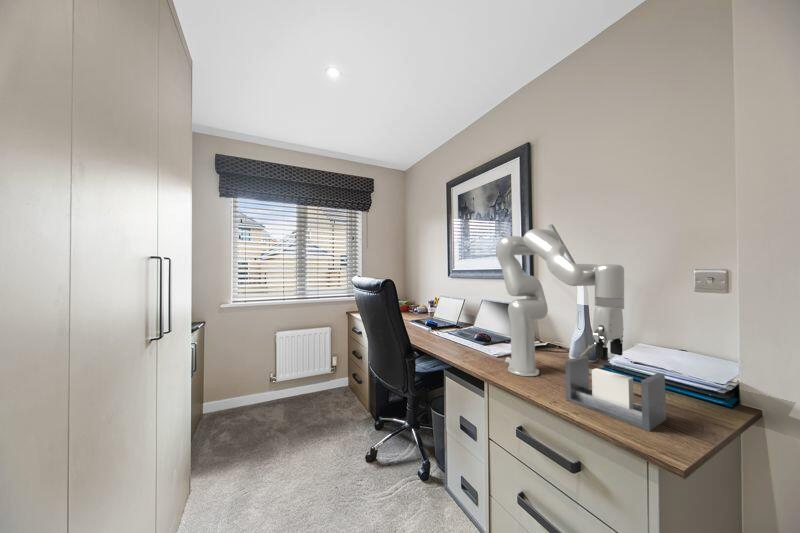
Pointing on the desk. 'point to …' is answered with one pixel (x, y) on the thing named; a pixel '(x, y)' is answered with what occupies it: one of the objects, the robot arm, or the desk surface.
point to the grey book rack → (640, 416)
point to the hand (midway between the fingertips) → (609, 356)
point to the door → (613, 387)
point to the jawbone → (585, 355)
